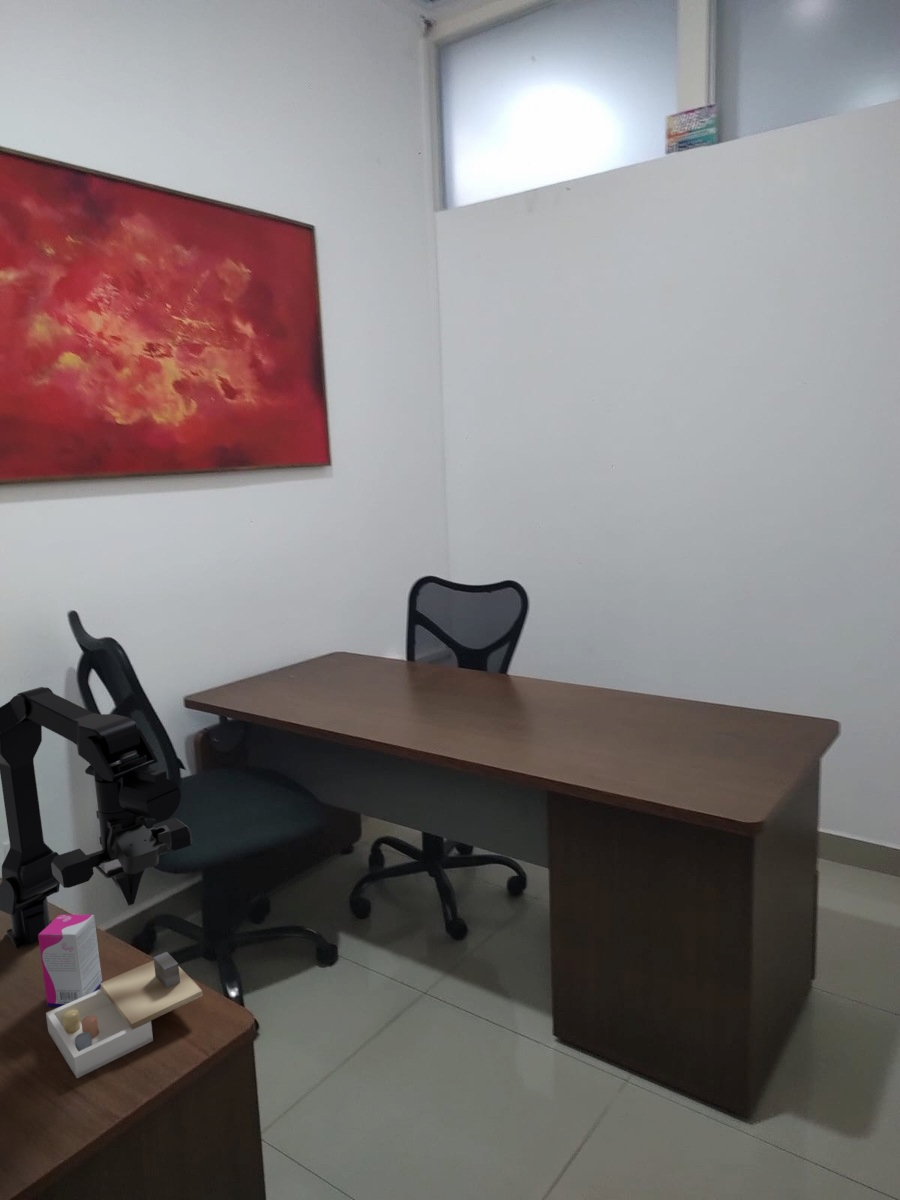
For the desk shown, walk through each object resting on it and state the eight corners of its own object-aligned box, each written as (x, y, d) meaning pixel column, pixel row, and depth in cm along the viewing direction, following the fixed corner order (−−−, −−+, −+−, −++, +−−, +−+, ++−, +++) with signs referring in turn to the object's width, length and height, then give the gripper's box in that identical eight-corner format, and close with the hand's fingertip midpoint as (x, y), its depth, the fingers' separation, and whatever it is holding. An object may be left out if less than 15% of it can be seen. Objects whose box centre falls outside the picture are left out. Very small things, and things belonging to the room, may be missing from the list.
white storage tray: (48, 1032, 116) (45, 1012, 116) (120, 999, 123) (118, 981, 122) (76, 1078, 107) (74, 1057, 107) (153, 1040, 114) (150, 1021, 113)
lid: (100, 988, 120) (97, 964, 120) (167, 959, 127) (165, 936, 126) (132, 1029, 111) (129, 1003, 111) (202, 995, 118) (200, 971, 117)
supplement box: (104, 982, 127) (95, 913, 125) (83, 1008, 121) (74, 936, 119) (67, 981, 127) (58, 912, 125) (45, 1007, 121) (35, 935, 119)
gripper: (70, 845, 109) (83, 953, 112) (204, 802, 121) (213, 901, 124) (44, 818, 117) (57, 920, 120) (172, 781, 129) (181, 874, 132)
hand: (130, 904), depth 124 cm, fingers closed
